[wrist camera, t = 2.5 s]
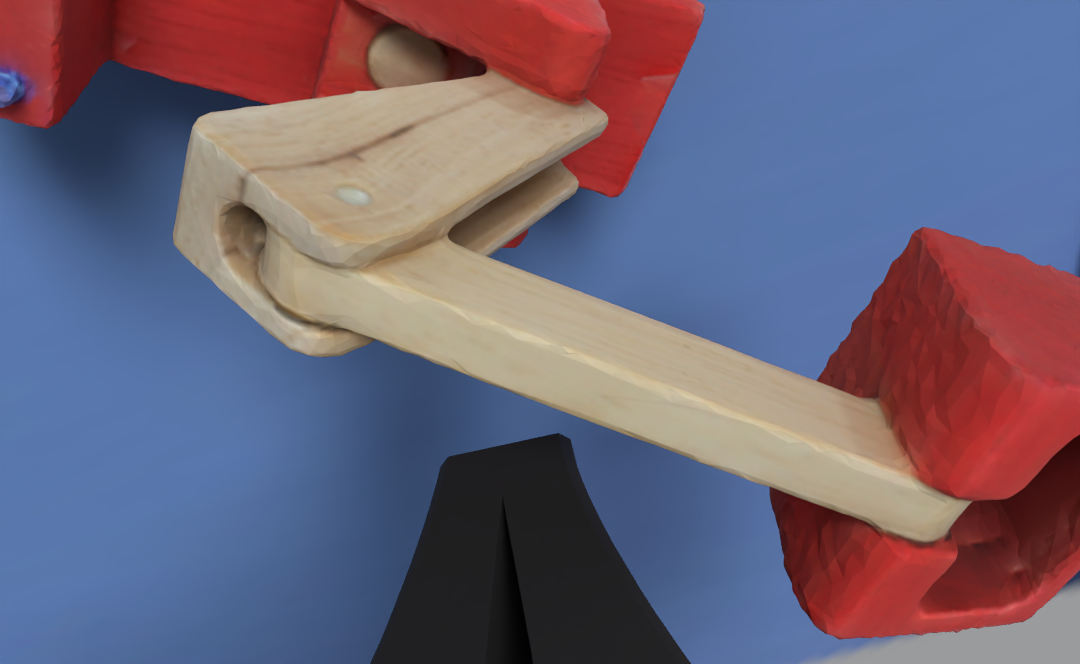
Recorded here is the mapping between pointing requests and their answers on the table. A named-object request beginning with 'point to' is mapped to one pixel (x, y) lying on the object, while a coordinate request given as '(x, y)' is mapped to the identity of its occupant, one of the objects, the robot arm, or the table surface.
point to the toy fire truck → (585, 321)
